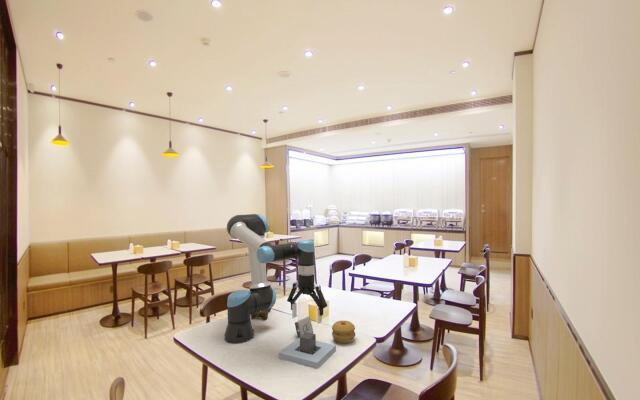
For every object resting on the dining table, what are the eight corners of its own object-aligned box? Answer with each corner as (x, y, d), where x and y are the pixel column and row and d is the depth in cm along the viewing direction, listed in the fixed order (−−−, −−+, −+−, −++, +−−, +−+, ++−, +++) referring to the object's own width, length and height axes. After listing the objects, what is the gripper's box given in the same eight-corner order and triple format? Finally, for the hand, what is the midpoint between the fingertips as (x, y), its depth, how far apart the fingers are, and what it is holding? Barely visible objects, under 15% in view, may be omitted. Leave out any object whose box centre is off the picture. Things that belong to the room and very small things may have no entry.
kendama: (275, 312, 200) (262, 323, 180) (261, 312, 202) (247, 322, 182) (274, 303, 200) (262, 312, 181) (260, 302, 202) (247, 312, 183)
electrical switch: (302, 340, 156) (300, 321, 157) (294, 338, 160) (293, 320, 160) (314, 334, 164) (312, 316, 164) (306, 332, 167) (305, 315, 168)
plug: (300, 355, 140) (299, 337, 140) (306, 350, 146) (306, 332, 146) (309, 358, 138) (309, 339, 138) (315, 352, 143) (315, 334, 143)
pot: (339, 348, 147) (338, 327, 147) (328, 338, 158) (327, 319, 158) (359, 343, 152) (359, 322, 152) (347, 334, 163) (347, 315, 163)
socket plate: (278, 358, 139) (278, 352, 139) (300, 342, 154) (300, 337, 154) (317, 368, 129) (317, 362, 129) (336, 350, 145) (335, 345, 145)
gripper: (279, 272, 145) (280, 317, 145) (326, 278, 133) (327, 327, 133) (288, 269, 152) (289, 312, 152) (334, 275, 140) (334, 321, 140)
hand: (306, 319), depth 142 cm, fingers open, 13 cm apart
